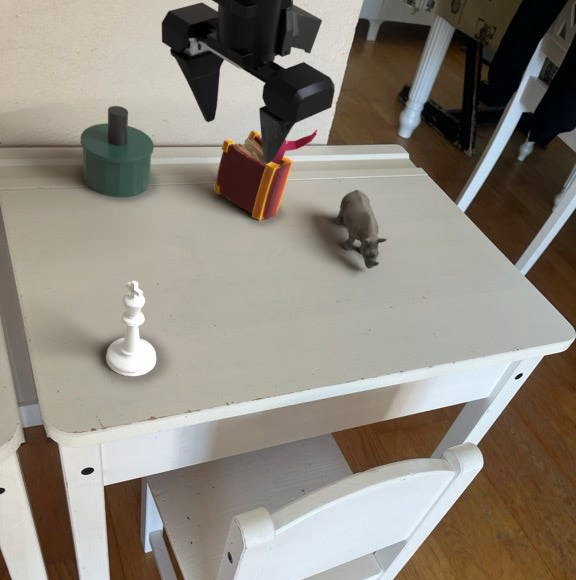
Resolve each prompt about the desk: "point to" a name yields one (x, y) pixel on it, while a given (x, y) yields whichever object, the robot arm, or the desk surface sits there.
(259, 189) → the book monster
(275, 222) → the desk surface
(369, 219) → the rhino figurine
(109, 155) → the pot lid
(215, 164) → the desk surface
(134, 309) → the chess piece
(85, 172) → the pot
